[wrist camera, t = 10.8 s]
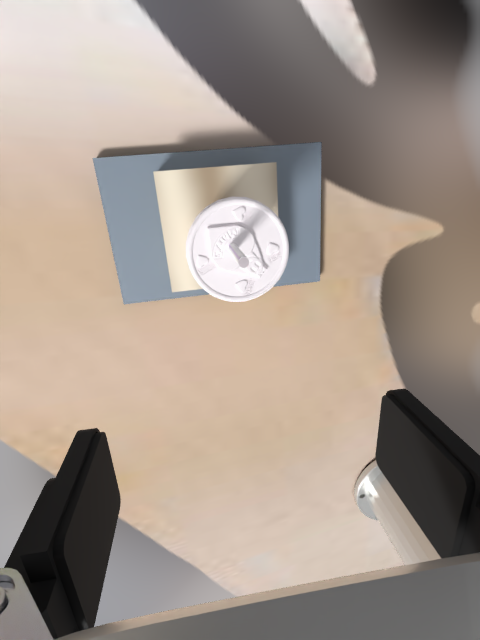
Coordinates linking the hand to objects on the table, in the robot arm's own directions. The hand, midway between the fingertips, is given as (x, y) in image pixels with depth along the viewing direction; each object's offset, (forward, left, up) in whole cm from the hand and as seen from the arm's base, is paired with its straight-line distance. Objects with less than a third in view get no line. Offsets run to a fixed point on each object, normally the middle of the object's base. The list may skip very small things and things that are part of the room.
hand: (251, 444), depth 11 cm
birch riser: (-2, -4, -25) cm, 26 cm away
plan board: (-2, -4, -25) cm, 26 cm away
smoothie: (-2, -4, -21) cm, 22 cm away
